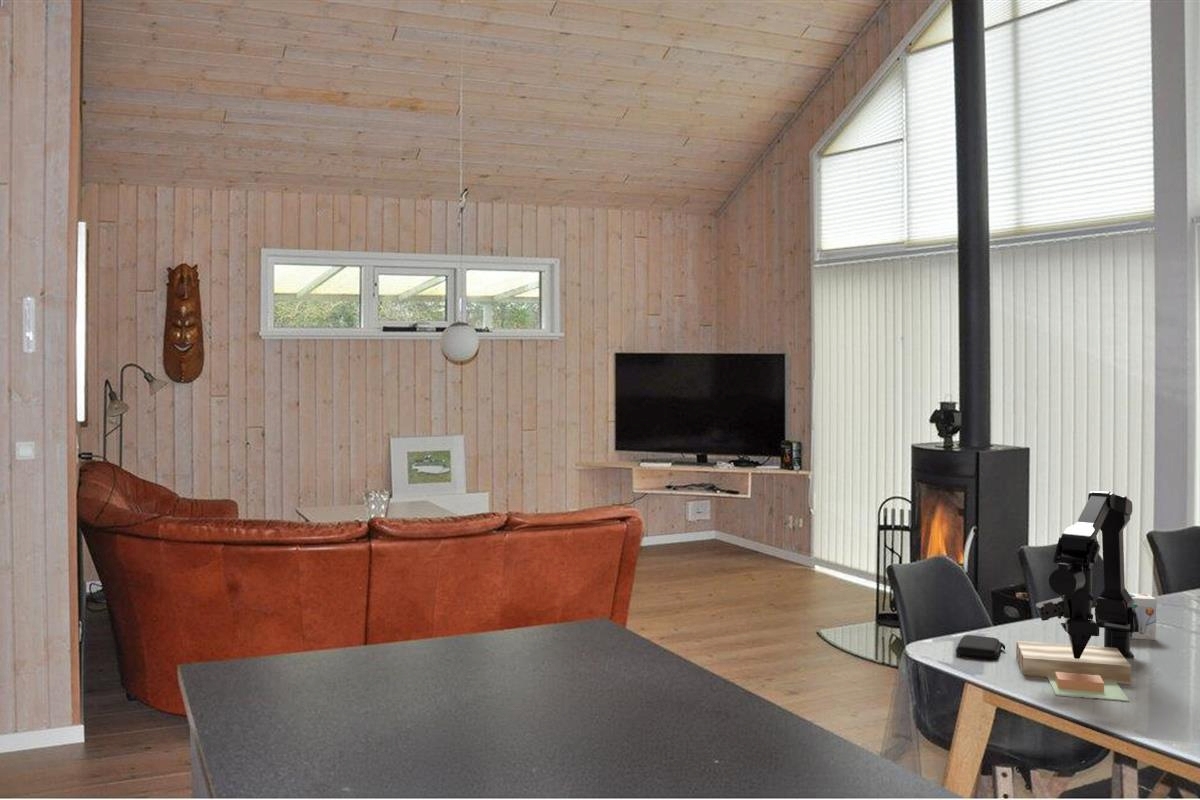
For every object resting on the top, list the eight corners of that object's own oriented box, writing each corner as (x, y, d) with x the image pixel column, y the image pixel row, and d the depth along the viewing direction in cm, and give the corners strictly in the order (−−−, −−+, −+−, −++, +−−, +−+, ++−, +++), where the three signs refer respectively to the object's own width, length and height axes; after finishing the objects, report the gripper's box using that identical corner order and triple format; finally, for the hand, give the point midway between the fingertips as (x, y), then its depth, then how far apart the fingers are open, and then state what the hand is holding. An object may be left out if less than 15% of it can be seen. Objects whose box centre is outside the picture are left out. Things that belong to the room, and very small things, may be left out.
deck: (1016, 657, 247) (1016, 640, 247) (1116, 664, 241) (1116, 648, 241) (1023, 675, 232) (1023, 657, 232) (1130, 683, 226) (1131, 666, 225)
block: (1058, 679, 221) (1058, 688, 221) (1104, 683, 218) (1104, 692, 218) (1055, 671, 227) (1055, 680, 227) (1099, 675, 224) (1099, 684, 224)
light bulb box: (1112, 638, 267) (1113, 597, 266) (1104, 632, 273) (1105, 591, 273) (1157, 640, 265) (1157, 598, 264) (1148, 633, 271) (1148, 593, 271)
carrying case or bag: (1001, 664, 243) (1006, 649, 256) (1001, 651, 243) (1006, 637, 256) (954, 658, 247) (961, 644, 261) (954, 646, 247) (961, 632, 261)
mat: (1047, 677, 230) (1047, 675, 230) (1115, 682, 226) (1115, 681, 226) (1055, 695, 217) (1055, 693, 217) (1128, 701, 213) (1128, 700, 213)
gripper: (1033, 578, 239) (1032, 645, 240) (1043, 594, 221) (1042, 666, 222) (1085, 582, 236) (1084, 649, 236) (1100, 598, 218) (1099, 670, 219)
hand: (1076, 658), depth 228 cm, fingers closed
